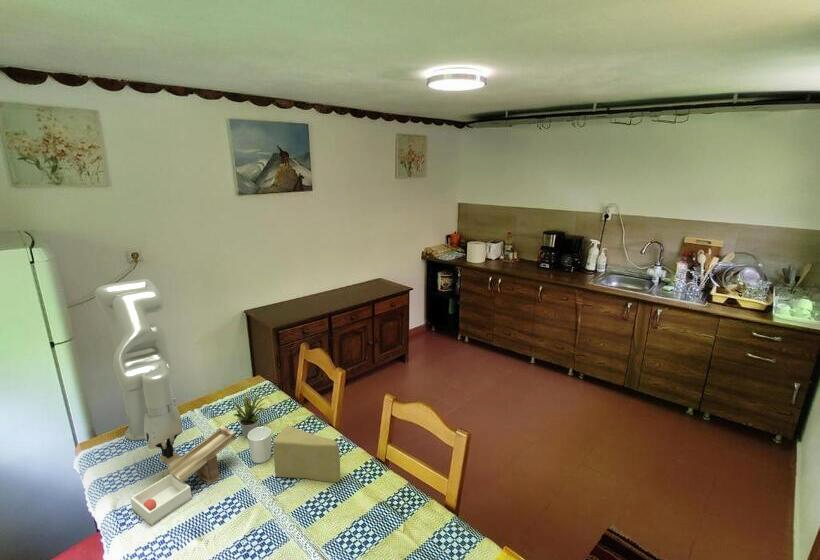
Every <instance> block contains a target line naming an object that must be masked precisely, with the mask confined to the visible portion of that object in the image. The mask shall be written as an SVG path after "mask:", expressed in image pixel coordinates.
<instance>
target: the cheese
mask: <svg viewBox="0 0 820 560" xmlns="http://www.w3.org/2000/svg"><path fill="white" fill-rule="evenodd" d="M272 448H273V450H272V451H273V461H274V463H273V464H274V466H273V467H274V475H275V477H277V478H290V479H291V478H292V479H294V478H296V479H307V480H308V479H309V480H315V481H321V482H328V483H339V482H340V480H341V460H340V459H341V457H340V450H339V443H338V441H336V440H334V439H332V438H328V437H325V436H321V435H317V434H313V433H311V432H307V431H305V430H301V429H300V428H297V427H294V426H291V425H286V426H284V428H283V429H282V430H280V432H279V433H278V434H277V436H275V438H274V439H273V440H272Z"/></svg>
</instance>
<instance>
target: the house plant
mask: <svg viewBox="0 0 820 560" xmlns="http://www.w3.org/2000/svg"><path fill="white" fill-rule="evenodd" d="M259 394H260V391H259V392H257V394H256V395H255V397H254V399H253V402H252V401H251V400H252V398H250V397H249V394H245V393H244V394H243V406H244V410H243V409H242V408H241V406H239V405H238V404H236V403H234V402H229V403H230V404H232V405H233V406H235V407H236V408H234V410H235V411H236V412H237V413H233V414H232V415H233V416H234V417H237V419H236V422H238V421H239V424H240V428H241V433H242V434H243V437H244V438H246V439H248V433H249V432H250V431H251V430H252V429H254V428H257V427H259V424H260V423H259V422H260V418H259V415H260V413H261V412H262V411H264V410H265V409H268V407H262V406H263V405H266V404H267V403H266V402H265V403H262V401H264V400H266V399H269V396H268V397H264V398H261V399H259V397H260V395H259ZM258 399H259V400H258ZM251 402H252V403H251ZM260 403H261V404H260ZM259 404H260V405H259Z"/></svg>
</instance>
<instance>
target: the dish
mask: <svg viewBox="0 0 820 560" xmlns="http://www.w3.org/2000/svg"><path fill="white" fill-rule="evenodd" d="M191 489H192V488H191V486H190V485H189V484H187V483H186V482H185V481H183V482H181V481H180V480H179V479H177V478H176V477H174V476H173V475H171V474H170V473H169V474H167V475H165V477H163V478H161V479H159V480H158V481H156V482H154V483H152V484H151V485H149V486H147V487H146V488H144V489H143V490H141V491H139V492H138V493H136V494H135V495H132V496H131V497H130V503H131V508H132V511H133V512H134V513H136V514H137V515H138V516H139V517H141V518H142V519H143V520H144V521H145V522H146V523H147V524H148V525H150V526H151V527H152V526H154V525H155V524H156V523H158V522H160V521H161V520H162V519H164V518H165V517H168V515H170V514H171V513H173V512H174V511H176V510H177V509H179V508H180V507H181V506H183V505H184V504H186V503H187V502H189V501H190V500H192V498H193V496H192V490H191ZM149 499H153V500H155V501H156V507H155V509H153V510H151V511H150V510H148V509H147V508H146V507H145V506H143V504H144V503H145V502H146V501H147V500H149Z"/></svg>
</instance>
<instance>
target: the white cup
mask: <svg viewBox="0 0 820 560" xmlns="http://www.w3.org/2000/svg"><path fill="white" fill-rule="evenodd" d="M247 441H248V447H249V453H250V457H251V461H252V462H253V463H256V464H261V463H266V462H267V461H268V460H269V459H271V457H272V429H271V428H270V427H268V426H258V427H257V428H254V429H252V430H251V431H250V432H249V433H248V438H247Z"/></svg>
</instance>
